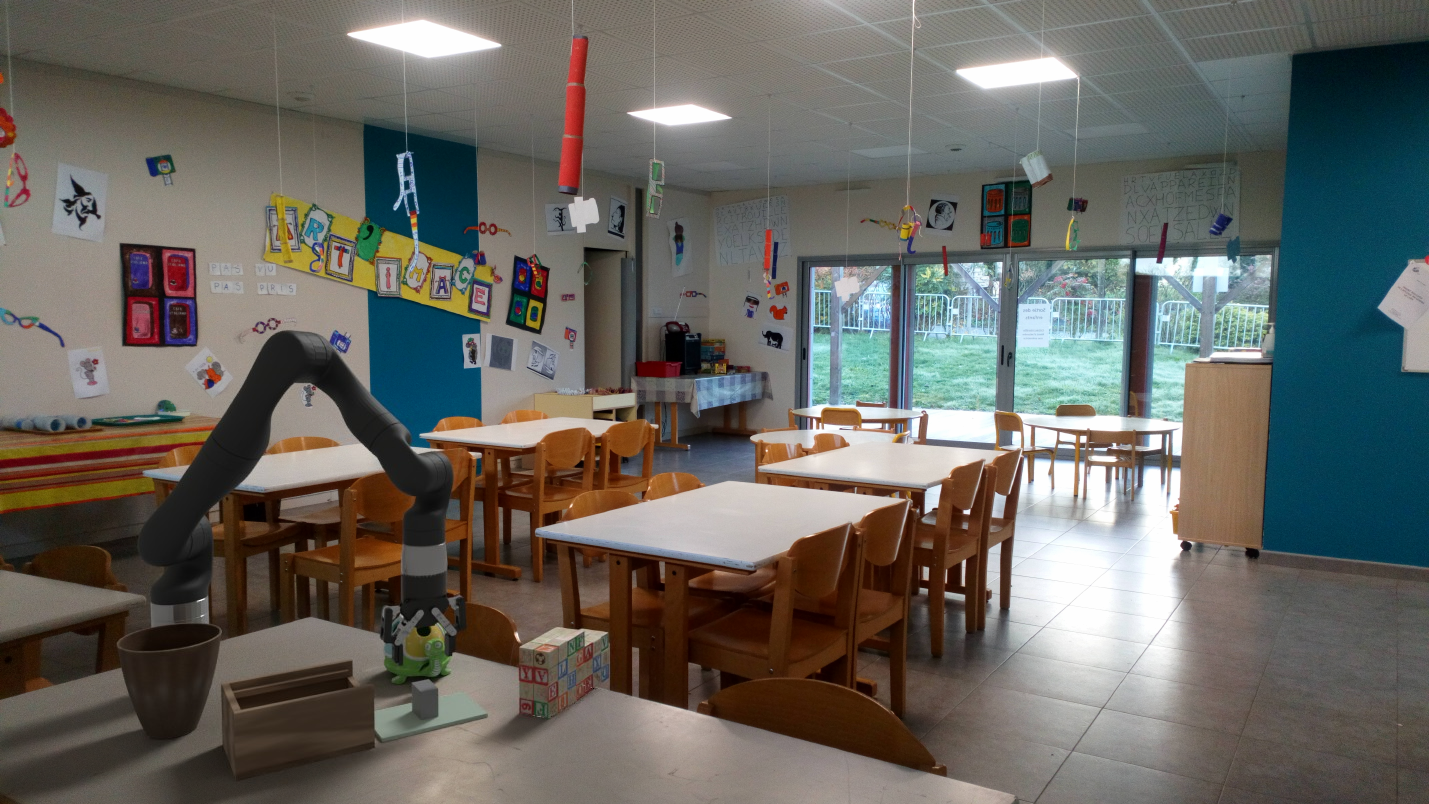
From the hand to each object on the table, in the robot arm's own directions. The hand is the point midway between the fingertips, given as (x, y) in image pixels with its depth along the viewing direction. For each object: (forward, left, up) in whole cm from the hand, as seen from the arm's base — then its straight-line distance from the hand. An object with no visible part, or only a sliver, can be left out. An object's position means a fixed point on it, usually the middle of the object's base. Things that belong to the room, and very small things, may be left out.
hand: (424, 659), depth 158 cm
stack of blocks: (+5, +25, -11) cm, 27 cm away
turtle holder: (-20, +6, -10) cm, 23 cm away
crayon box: (0, -20, -10) cm, 23 cm away
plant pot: (-18, -36, -10) cm, 42 cm away
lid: (0, 0, -11) cm, 11 cm away
